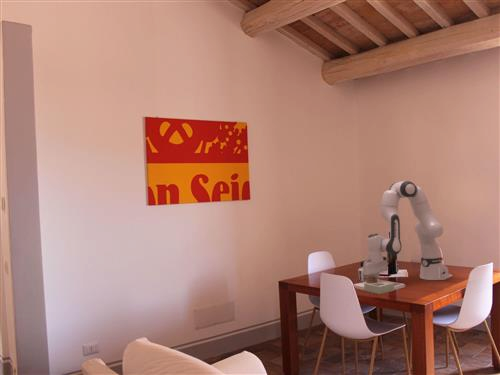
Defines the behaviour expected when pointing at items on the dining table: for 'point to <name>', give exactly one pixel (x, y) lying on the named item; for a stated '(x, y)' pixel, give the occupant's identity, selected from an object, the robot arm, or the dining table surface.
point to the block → (371, 280)
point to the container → (363, 276)
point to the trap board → (379, 286)
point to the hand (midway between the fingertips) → (375, 279)
